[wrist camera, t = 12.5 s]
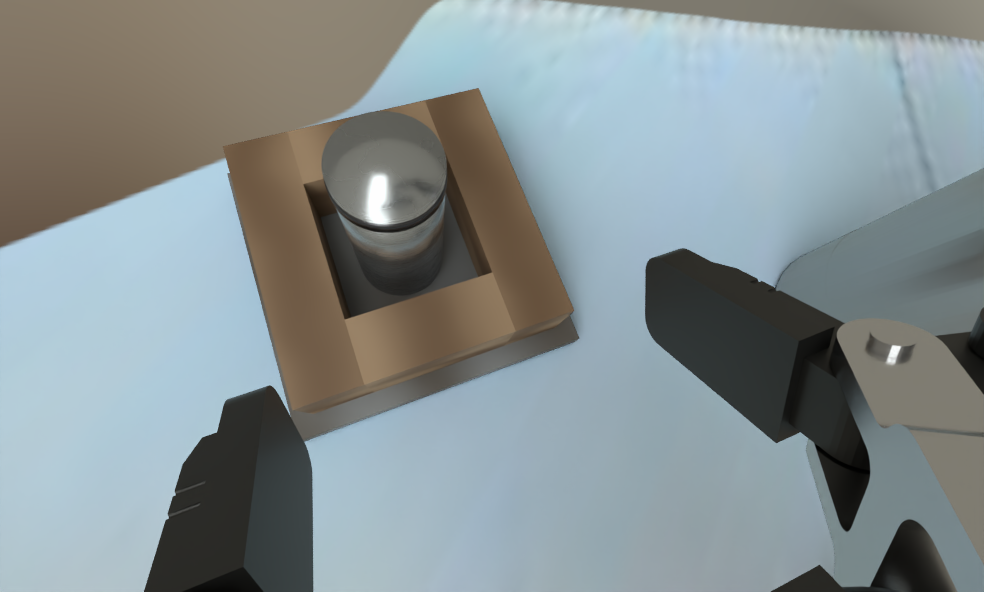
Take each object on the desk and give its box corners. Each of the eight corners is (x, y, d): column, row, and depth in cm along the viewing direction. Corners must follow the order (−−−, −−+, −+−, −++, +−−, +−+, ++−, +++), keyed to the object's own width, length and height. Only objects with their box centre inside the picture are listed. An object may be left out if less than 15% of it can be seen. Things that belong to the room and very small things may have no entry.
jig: (481, 122, 29) (489, 69, 25) (574, 341, 26) (601, 323, 22) (234, 183, 26) (196, 134, 22) (303, 441, 23) (273, 443, 19)
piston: (427, 210, 26) (425, 99, 18) (454, 282, 25) (464, 200, 17) (348, 232, 25) (305, 125, 17) (372, 307, 24) (339, 234, 16)
